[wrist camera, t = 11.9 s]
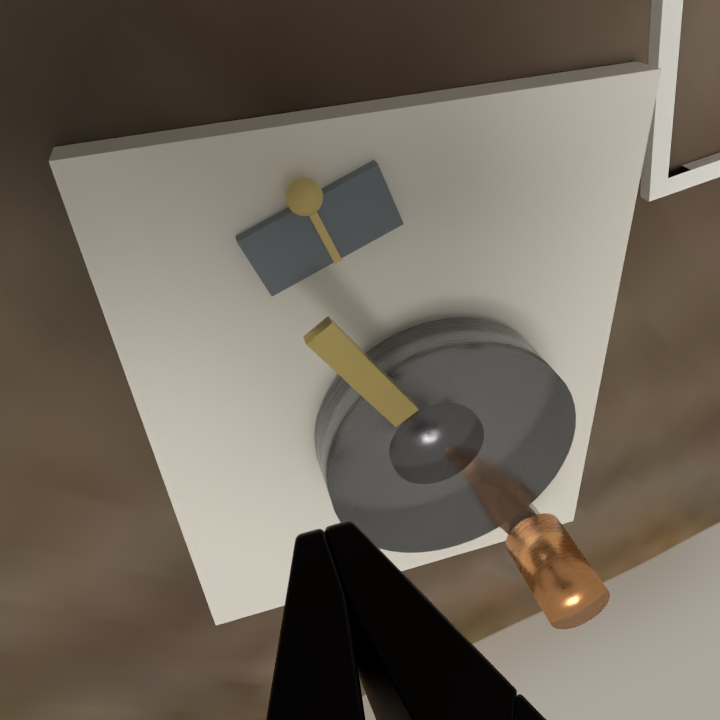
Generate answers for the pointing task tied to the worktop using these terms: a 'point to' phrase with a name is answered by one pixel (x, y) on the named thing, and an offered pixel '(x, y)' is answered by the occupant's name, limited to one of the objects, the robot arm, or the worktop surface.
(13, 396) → the worktop surface
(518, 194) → the stand
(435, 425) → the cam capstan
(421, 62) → the worktop surface
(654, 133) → the photo frame
